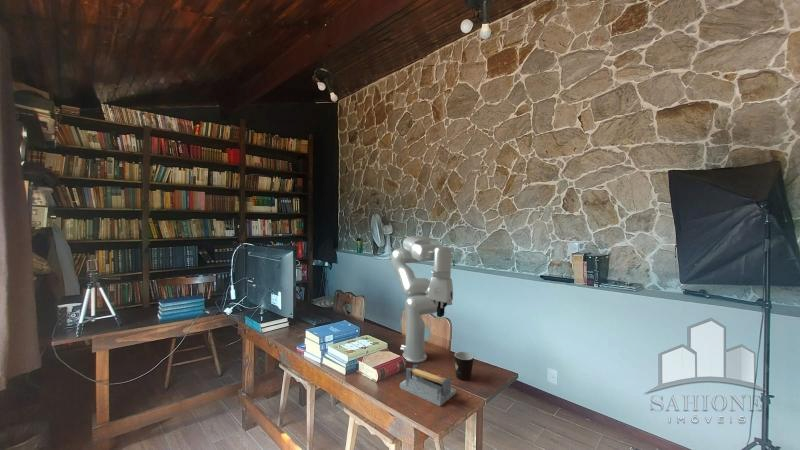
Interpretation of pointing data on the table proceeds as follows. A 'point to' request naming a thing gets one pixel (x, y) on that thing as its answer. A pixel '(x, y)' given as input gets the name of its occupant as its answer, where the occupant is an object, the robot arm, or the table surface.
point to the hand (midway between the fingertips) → (440, 316)
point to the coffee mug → (463, 365)
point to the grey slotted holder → (427, 387)
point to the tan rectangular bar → (427, 375)
